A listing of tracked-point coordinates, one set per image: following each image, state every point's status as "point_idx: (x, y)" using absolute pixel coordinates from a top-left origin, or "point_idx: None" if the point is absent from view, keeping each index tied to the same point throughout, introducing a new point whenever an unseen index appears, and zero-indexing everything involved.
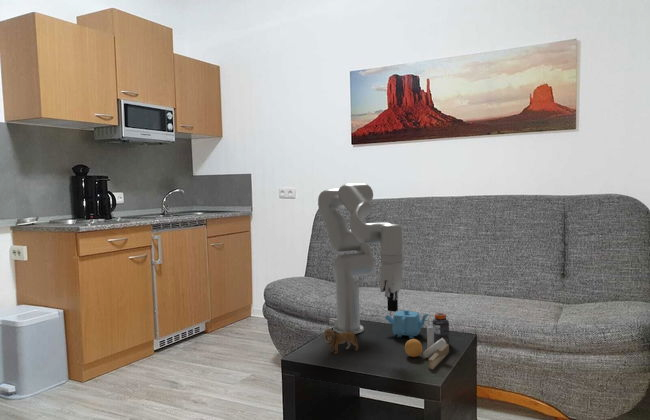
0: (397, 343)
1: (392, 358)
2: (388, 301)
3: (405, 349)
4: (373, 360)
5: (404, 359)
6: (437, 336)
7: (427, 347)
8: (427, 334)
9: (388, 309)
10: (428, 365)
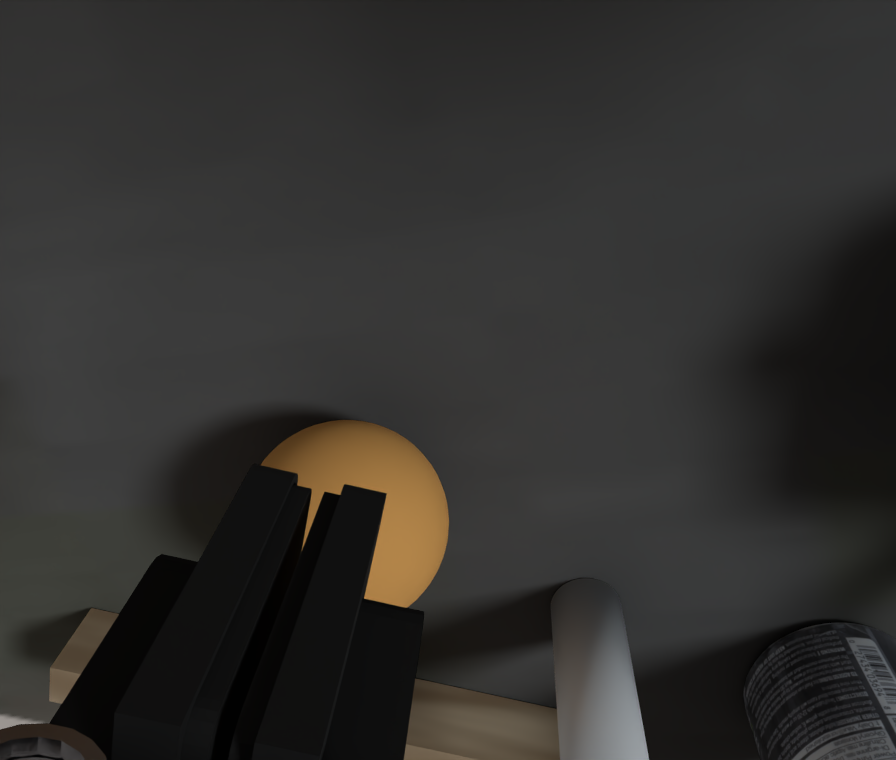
0: (802, 242)
1: (231, 266)
2: (139, 688)
3: (289, 439)
4: (80, 52)
5: (247, 393)
6: (780, 737)
7: (577, 602)
8: (582, 717)
9: (245, 496)
10: (77, 628)
